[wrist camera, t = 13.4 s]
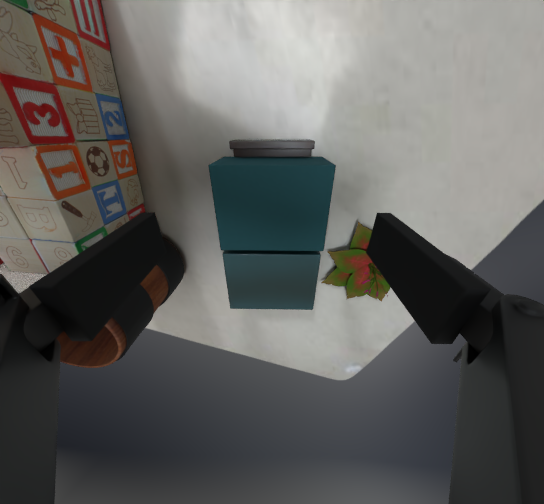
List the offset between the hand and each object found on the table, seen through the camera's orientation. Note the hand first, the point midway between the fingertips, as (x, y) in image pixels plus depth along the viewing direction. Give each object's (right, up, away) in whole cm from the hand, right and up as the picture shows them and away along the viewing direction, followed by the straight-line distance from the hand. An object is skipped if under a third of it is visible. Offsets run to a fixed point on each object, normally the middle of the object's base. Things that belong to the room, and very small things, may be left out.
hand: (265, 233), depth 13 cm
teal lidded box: (0, +2, +11) cm, 11 cm away
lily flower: (+12, -2, +13) cm, 18 cm away
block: (0, +5, +8) cm, 9 cm away
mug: (-16, -3, +14) cm, 21 cm away
